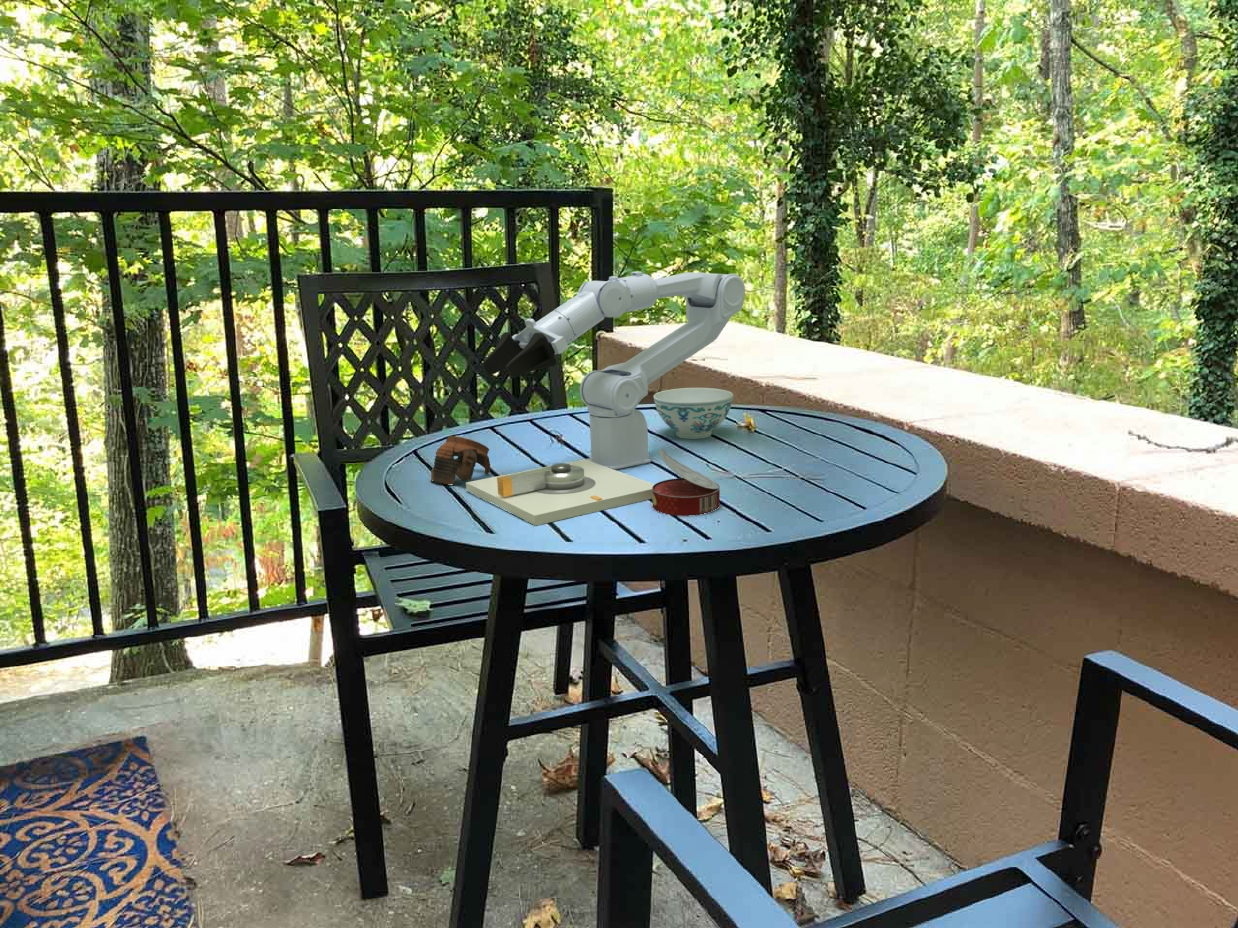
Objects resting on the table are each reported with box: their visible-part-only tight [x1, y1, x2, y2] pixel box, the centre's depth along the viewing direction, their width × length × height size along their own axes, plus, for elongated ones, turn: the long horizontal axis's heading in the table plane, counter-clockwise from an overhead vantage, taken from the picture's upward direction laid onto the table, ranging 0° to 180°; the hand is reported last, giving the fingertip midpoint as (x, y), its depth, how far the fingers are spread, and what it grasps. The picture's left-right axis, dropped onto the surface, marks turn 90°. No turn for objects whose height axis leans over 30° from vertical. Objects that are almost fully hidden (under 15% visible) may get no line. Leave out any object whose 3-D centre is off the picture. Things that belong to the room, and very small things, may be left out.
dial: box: [496, 462, 584, 497], centre depth 149 cm, size 14×7×3 cm, turn 124°
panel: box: [465, 458, 656, 526], centre depth 152 cm, size 22×22×2 cm
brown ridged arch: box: [430, 435, 491, 485], centre depth 162 cm, size 12×10×8 cm
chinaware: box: [653, 387, 734, 440], centre depth 187 cm, size 15×15×8 cm
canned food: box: [652, 448, 721, 517], centre depth 144 cm, size 11×10×10 cm
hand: (496, 371), depth 151 cm, fingers open, 7 cm apart
